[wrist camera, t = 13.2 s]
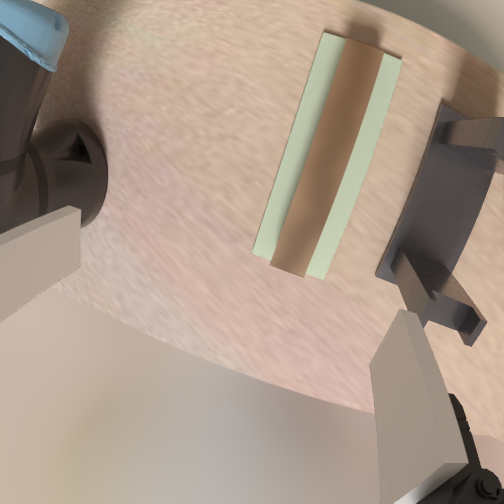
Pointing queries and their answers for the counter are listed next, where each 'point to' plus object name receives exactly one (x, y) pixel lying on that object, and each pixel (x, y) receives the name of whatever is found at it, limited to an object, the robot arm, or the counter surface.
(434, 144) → the rack
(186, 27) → the counter surface
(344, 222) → the mat
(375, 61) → the rail
